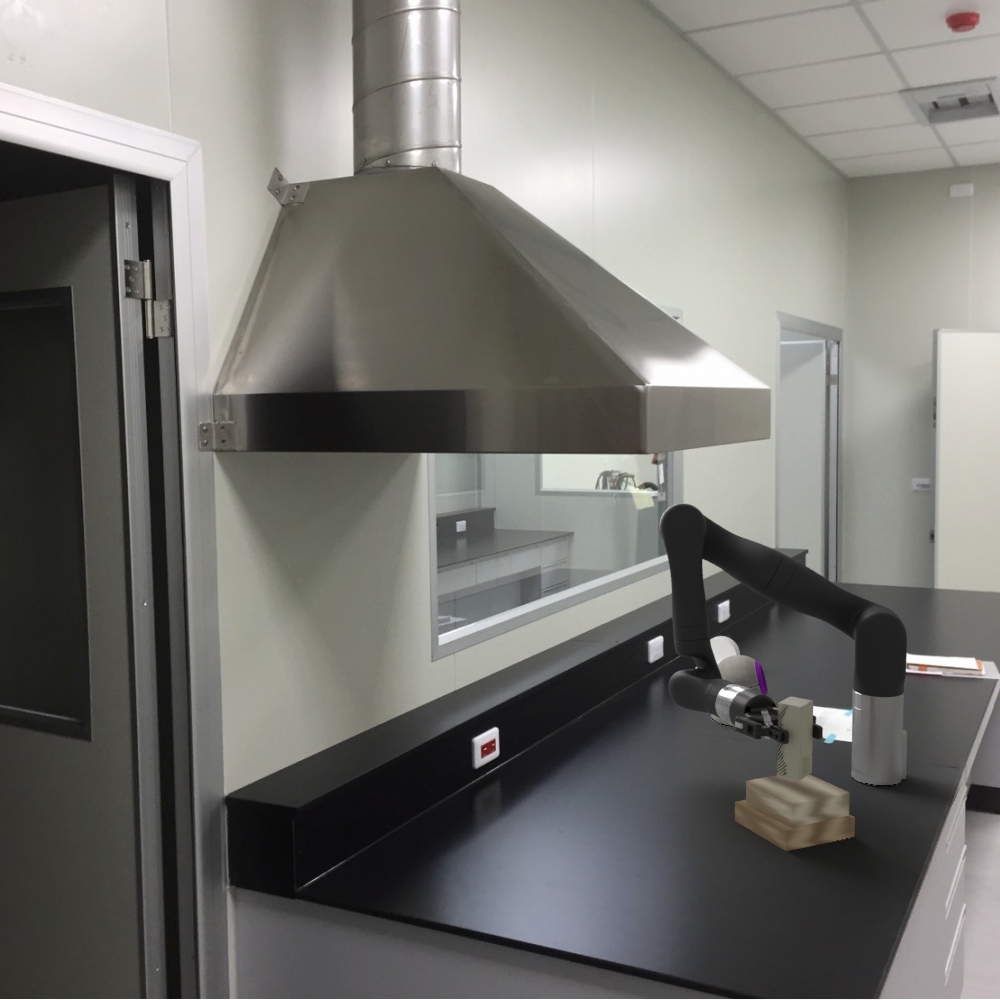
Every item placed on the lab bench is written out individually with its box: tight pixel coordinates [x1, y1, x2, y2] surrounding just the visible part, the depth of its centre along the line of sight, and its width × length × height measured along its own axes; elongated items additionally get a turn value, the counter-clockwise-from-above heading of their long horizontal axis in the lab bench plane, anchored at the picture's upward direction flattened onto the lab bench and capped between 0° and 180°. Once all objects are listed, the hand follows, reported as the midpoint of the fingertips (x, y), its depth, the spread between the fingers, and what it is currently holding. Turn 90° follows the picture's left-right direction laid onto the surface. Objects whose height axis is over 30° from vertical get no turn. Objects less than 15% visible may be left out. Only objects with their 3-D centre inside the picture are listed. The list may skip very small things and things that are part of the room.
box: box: [776, 696, 814, 780], centre depth 179 cm, size 5×4×13 cm
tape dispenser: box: [695, 635, 741, 668], centre depth 285 cm, size 10×18×11 cm, turn 154°
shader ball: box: [710, 654, 769, 725], centre depth 244 cm, size 13×13×15 cm
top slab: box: [745, 773, 850, 828], centre depth 180 cm, size 12×12×4 cm
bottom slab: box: [734, 799, 856, 852], centre depth 181 cm, size 14×14×4 cm
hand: (804, 735), depth 177 cm, fingers closed on box, 6 cm apart
